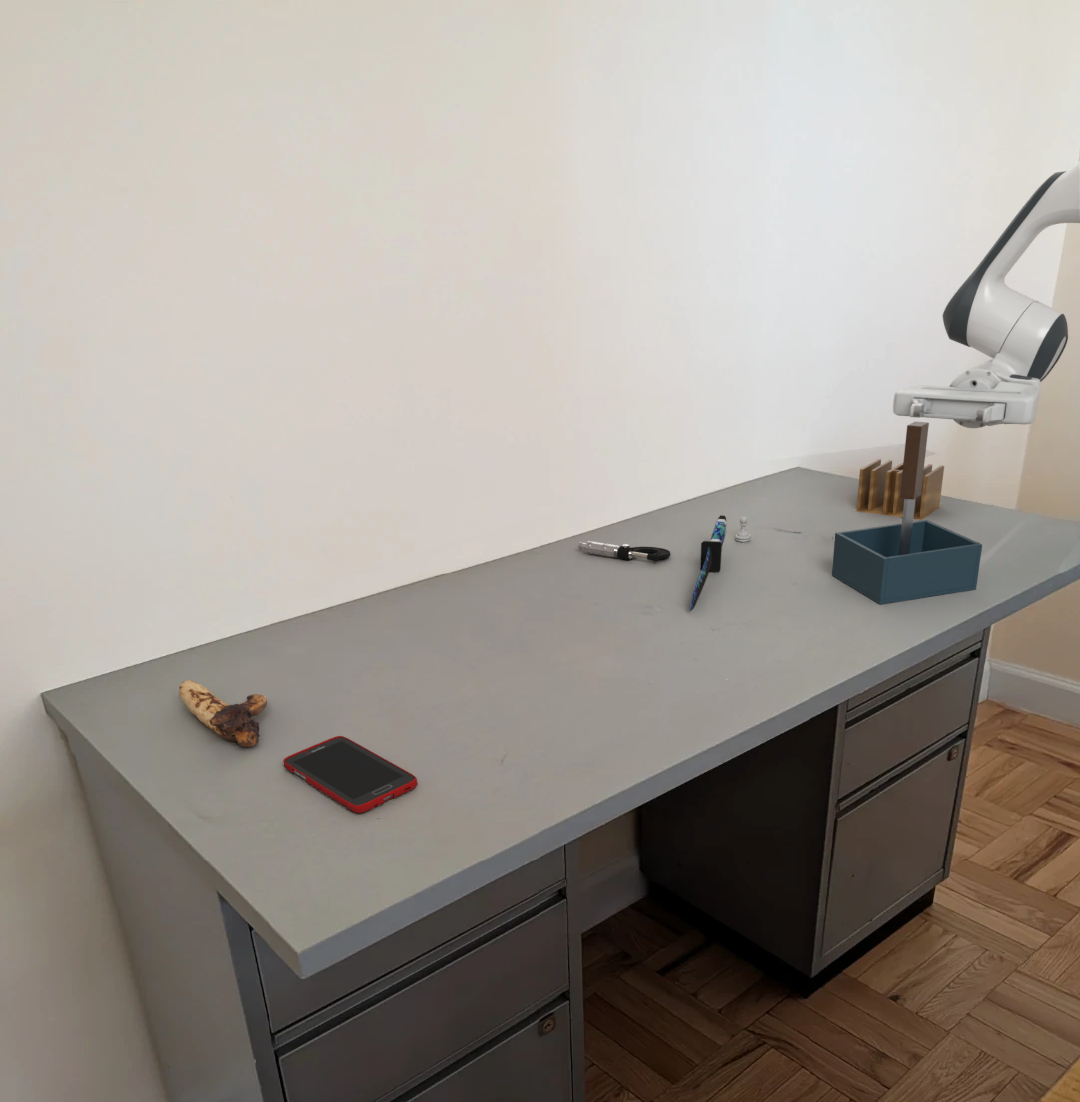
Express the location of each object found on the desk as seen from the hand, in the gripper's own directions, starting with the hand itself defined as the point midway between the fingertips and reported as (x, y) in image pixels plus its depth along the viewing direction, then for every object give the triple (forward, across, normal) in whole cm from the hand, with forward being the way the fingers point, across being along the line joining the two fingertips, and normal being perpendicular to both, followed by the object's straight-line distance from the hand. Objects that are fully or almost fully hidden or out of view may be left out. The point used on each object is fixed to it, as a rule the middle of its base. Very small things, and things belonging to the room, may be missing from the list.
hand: (947, 413), depth 150 cm
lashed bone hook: (+94, -49, +22) cm, 108 cm away
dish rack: (-20, -13, +22) cm, 32 cm away
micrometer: (+20, -42, +22) cm, 52 cm away
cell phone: (+96, -27, +22) cm, 102 cm away
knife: (+24, -25, +22) cm, 41 cm away
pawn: (+5, -30, +22) cm, 37 cm away
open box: (+12, 0, +22) cm, 25 cm away
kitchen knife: (+12, 0, +21) cm, 24 cm away
